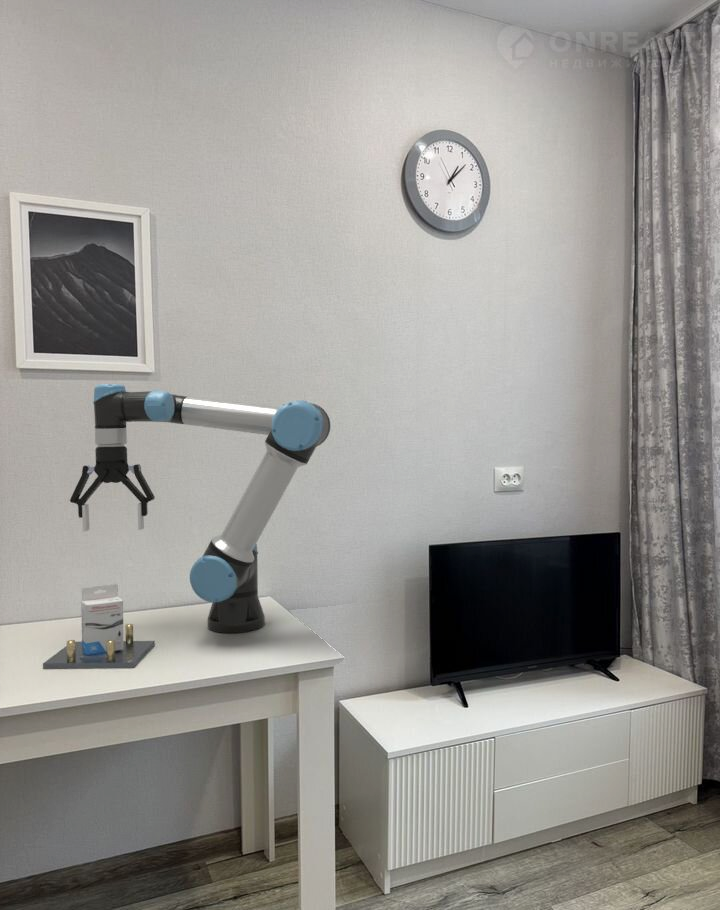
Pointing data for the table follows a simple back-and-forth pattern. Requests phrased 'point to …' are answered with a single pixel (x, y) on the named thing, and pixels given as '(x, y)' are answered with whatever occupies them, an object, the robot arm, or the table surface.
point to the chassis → (101, 654)
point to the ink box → (101, 619)
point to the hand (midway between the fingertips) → (113, 529)
